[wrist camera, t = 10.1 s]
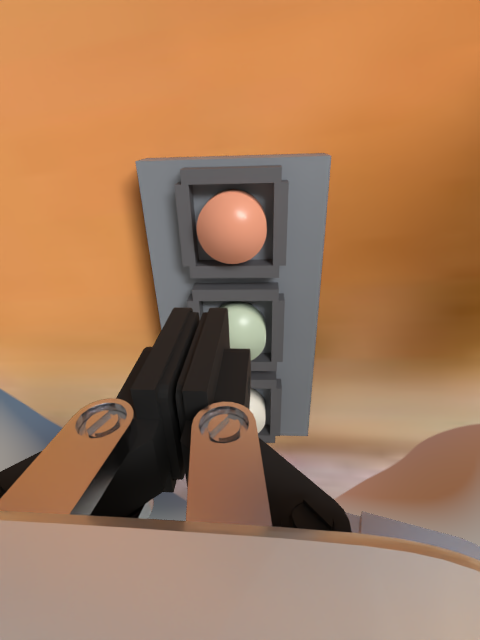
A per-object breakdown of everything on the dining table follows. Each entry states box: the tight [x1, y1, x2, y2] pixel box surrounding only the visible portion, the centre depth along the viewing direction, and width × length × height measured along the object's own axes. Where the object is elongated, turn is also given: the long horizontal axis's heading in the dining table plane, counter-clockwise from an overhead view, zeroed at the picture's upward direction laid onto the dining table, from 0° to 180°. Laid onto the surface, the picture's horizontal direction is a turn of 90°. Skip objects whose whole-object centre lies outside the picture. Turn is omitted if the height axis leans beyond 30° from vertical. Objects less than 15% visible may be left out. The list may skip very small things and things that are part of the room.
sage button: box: [218, 301, 266, 360], centre depth 30 cm, size 5×5×2 cm
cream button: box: [249, 388, 265, 433], centre depth 35 cm, size 5×5×2 cm
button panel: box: [136, 153, 331, 443], centre depth 32 cm, size 14×27×4 cm, turn 2°
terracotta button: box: [197, 189, 267, 264], centre depth 26 cm, size 5×5×2 cm
